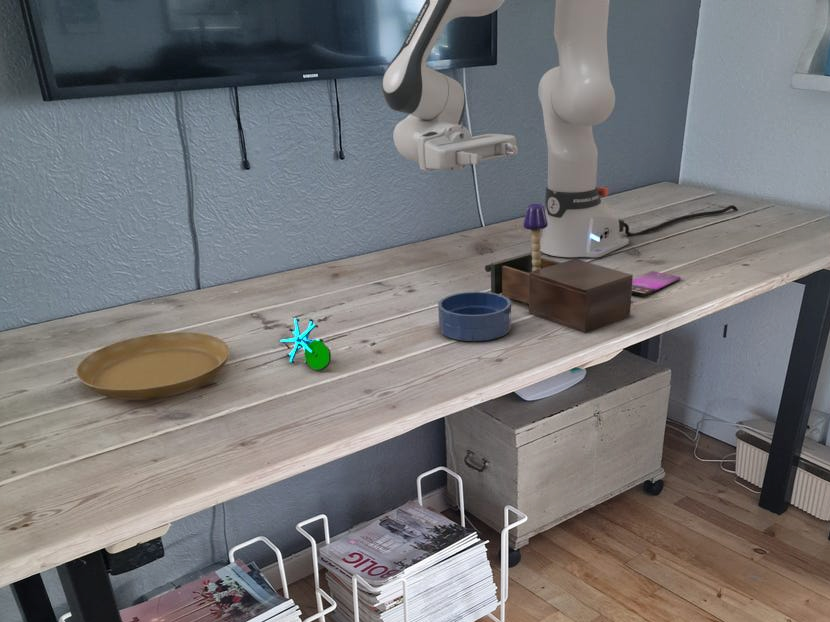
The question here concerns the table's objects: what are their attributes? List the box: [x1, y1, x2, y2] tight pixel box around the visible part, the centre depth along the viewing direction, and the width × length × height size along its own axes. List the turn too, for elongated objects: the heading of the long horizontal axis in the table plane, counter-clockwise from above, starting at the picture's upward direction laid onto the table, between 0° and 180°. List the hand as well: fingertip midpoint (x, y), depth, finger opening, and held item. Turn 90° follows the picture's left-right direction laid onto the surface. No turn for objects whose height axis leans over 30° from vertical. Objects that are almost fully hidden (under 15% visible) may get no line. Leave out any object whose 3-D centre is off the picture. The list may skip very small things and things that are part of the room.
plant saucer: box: [75, 331, 230, 401], centre depth 145 cm, size 24×24×3 cm
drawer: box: [484, 251, 561, 305], centre depth 175 cm, size 18×11×6 cm, turn 41°
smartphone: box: [631, 270, 681, 297], centre depth 182 cm, size 7×15×1 cm, turn 140°
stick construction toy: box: [279, 317, 332, 371], centre depth 150 cm, size 12×7×8 cm
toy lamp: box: [523, 203, 548, 271], centre depth 170 cm, size 5×5×17 cm
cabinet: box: [528, 258, 634, 334], centre depth 166 cm, size 15×13×8 cm
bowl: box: [437, 291, 512, 342], centre depth 161 cm, size 13×13×5 cm
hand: (497, 155), depth 170 cm, fingers open, 8 cm apart
